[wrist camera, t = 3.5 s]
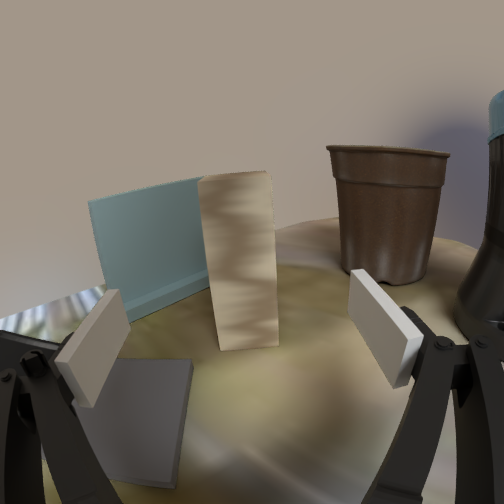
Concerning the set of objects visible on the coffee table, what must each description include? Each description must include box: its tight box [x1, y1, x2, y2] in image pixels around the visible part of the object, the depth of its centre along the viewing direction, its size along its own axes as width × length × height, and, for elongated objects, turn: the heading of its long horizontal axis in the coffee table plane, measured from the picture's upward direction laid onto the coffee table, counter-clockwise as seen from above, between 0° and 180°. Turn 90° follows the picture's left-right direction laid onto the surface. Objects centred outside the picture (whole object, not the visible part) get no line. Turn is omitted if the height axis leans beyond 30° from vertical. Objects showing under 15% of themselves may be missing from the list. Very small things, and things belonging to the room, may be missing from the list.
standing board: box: [88, 176, 210, 323], centre depth 33 cm, size 5×16×13 cm, turn 136°
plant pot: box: [326, 145, 450, 285], centre depth 34 cm, size 16×16×16 cm
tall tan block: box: [197, 171, 279, 351], centre depth 24 cm, size 5×5×14 cm
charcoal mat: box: [41, 358, 194, 489], centre depth 16 cm, size 11×11×1 cm
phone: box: [0, 330, 61, 376], centre depth 20 cm, size 8×1×15 cm
